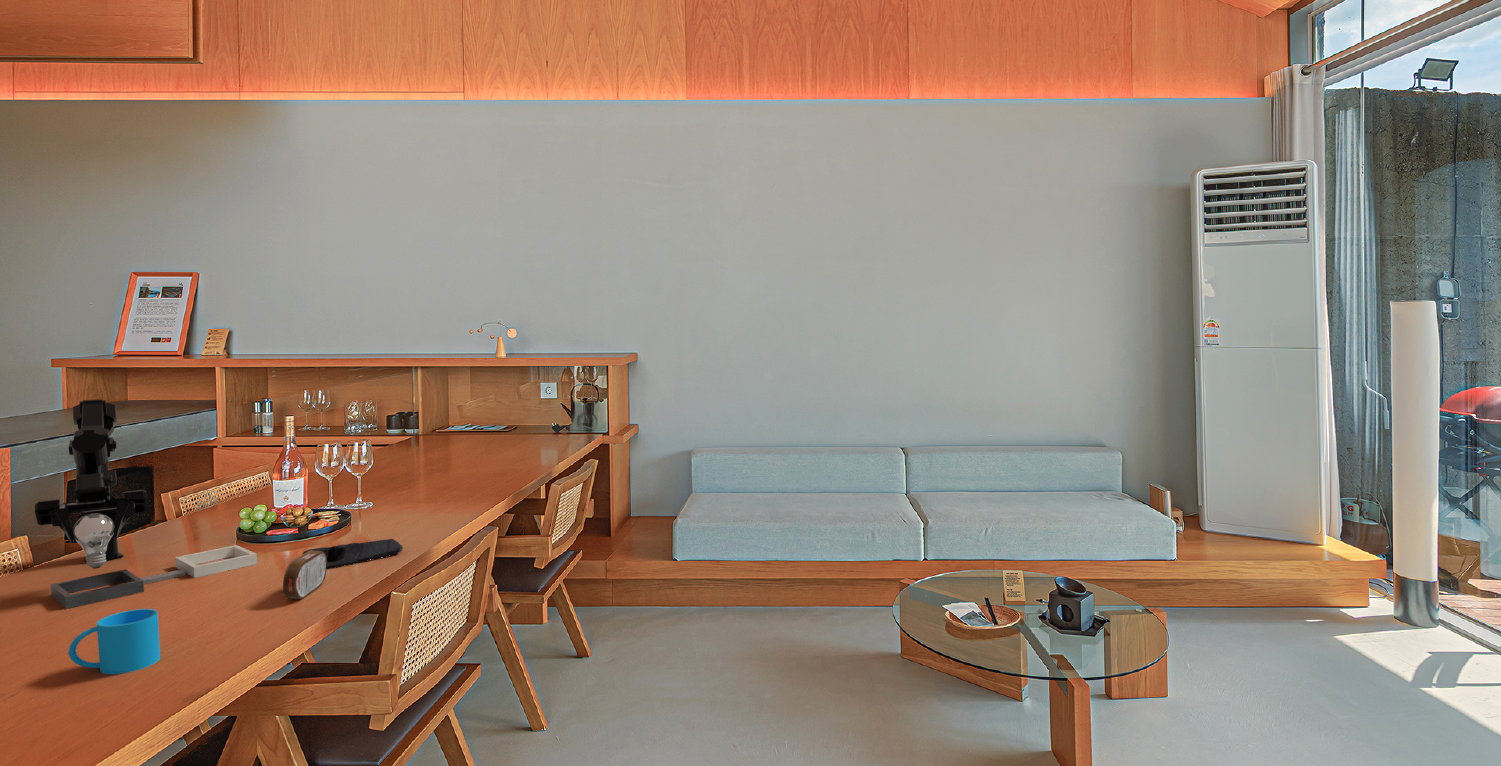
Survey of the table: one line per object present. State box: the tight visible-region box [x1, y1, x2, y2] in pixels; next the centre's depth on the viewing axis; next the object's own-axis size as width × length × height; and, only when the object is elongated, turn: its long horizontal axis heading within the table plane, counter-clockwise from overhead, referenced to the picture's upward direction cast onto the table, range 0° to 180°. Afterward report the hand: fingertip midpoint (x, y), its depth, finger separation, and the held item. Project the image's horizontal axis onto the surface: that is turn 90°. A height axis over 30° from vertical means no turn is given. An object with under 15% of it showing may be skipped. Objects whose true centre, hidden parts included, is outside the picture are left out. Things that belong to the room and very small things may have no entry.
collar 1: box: [50, 568, 145, 610], centre depth 169 cm, size 13×13×2 cm
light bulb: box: [72, 513, 114, 570], centre depth 169 cm, size 7×7×12 cm
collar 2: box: [174, 544, 258, 579], centre depth 189 cm, size 13×13×2 cm
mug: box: [68, 608, 161, 675], centre depth 133 cm, size 12×8×8 cm
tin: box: [282, 550, 327, 600], centre depth 169 cm, size 15×3×8 cm, turn 5°
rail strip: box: [139, 569, 187, 585], centre depth 179 cm, size 3×9×1 cm, turn 142°
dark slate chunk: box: [301, 538, 403, 570], centre depth 195 cm, size 15×22×5 cm
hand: (94, 539), depth 168 cm, fingers closed on light bulb, 7 cm apart
